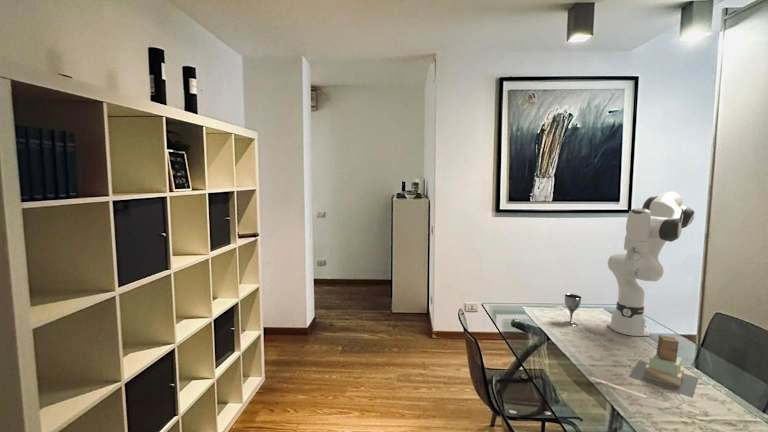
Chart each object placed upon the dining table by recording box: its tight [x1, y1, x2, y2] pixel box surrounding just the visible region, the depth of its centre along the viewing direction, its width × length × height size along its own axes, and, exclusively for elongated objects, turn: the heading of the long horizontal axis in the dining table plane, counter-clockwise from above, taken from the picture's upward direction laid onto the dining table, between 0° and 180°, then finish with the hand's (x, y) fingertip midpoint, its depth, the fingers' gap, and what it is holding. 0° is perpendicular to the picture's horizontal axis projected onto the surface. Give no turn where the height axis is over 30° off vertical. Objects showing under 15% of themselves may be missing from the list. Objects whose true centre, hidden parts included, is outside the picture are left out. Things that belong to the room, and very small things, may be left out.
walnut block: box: [656, 334, 680, 362], centre depth 154 cm, size 5×5×8 cm
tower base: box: [644, 360, 685, 388], centre depth 155 cm, size 11×11×4 cm
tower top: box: [649, 350, 683, 376], centre depth 154 cm, size 9×9×4 cm
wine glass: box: [563, 293, 582, 327], centre depth 210 cm, size 8×8×15 cm
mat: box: [628, 359, 700, 398], centre depth 155 cm, size 20×20×1 cm
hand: (632, 278), depth 171 cm, fingers open, 8 cm apart
